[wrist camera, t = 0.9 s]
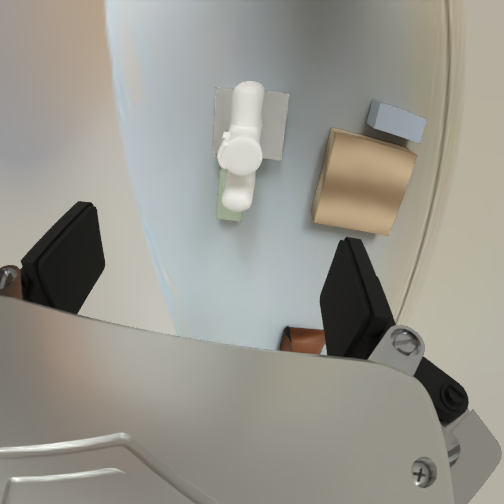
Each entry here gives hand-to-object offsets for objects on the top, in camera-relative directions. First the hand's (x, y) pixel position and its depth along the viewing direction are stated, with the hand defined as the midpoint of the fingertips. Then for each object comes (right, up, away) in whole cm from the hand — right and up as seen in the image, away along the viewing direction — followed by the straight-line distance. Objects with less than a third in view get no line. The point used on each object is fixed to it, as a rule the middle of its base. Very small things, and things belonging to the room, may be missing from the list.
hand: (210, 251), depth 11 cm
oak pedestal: (+15, +9, +24) cm, 29 cm away
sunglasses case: (+10, -20, +45) cm, 51 cm away
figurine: (+1, +15, +21) cm, 26 cm away
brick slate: (+18, +16, +19) cm, 30 cm away
